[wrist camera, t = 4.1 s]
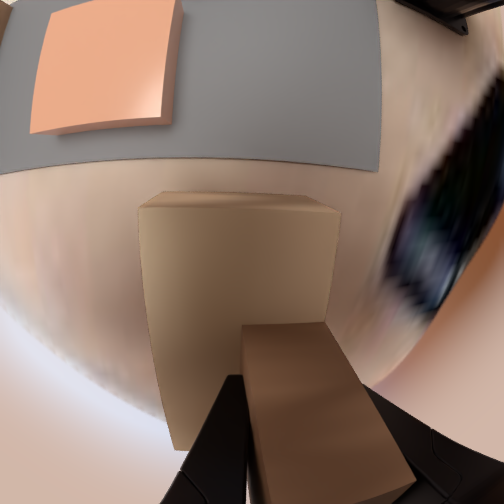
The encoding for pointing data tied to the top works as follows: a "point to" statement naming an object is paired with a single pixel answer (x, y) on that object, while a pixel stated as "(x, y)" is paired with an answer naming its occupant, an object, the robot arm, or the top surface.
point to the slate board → (222, 87)
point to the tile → (107, 66)
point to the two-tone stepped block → (262, 343)
